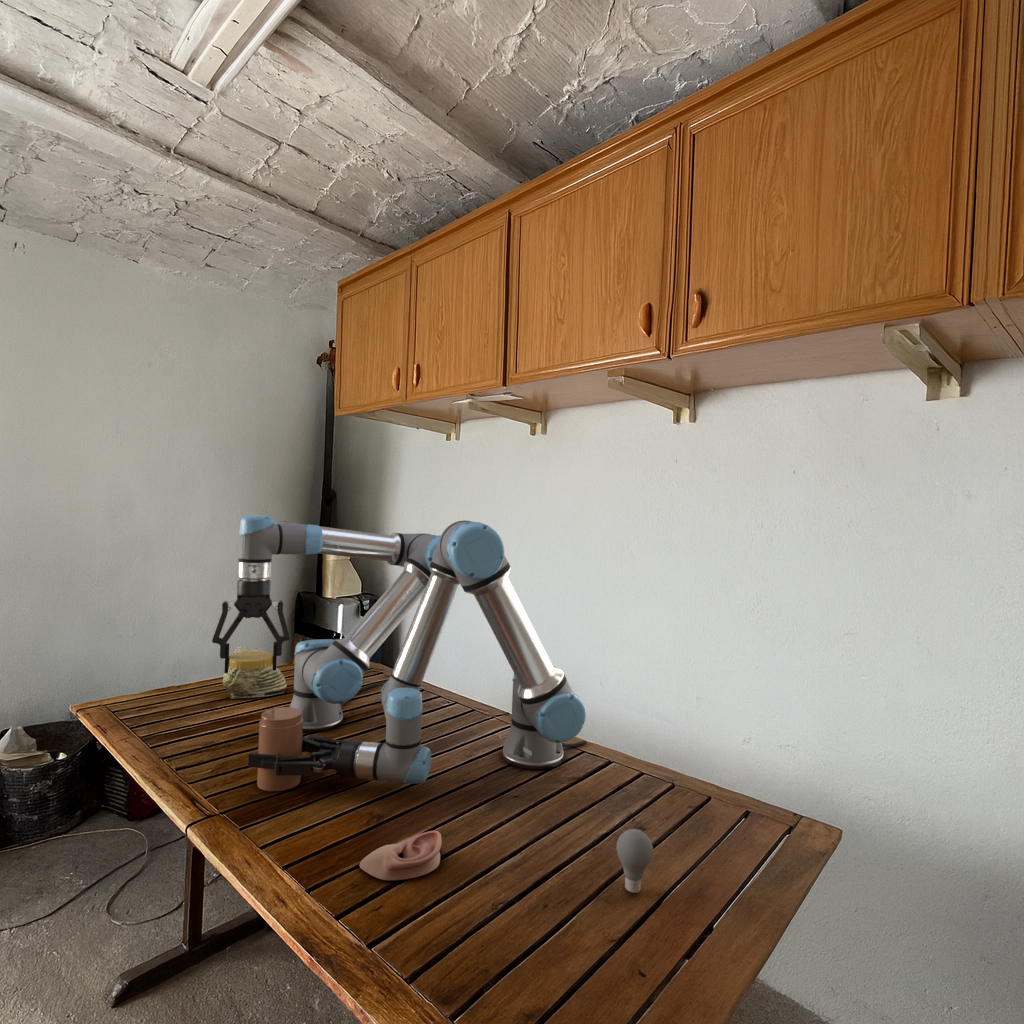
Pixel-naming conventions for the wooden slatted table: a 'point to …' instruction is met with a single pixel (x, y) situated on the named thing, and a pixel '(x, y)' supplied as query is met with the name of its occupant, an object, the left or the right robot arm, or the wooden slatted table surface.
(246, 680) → the fossil
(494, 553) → the right robot arm
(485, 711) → the wooden slatted table surface
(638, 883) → the light bulb
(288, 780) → the jar
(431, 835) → the anatomical model
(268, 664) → the lid
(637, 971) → the wooden slatted table surface
